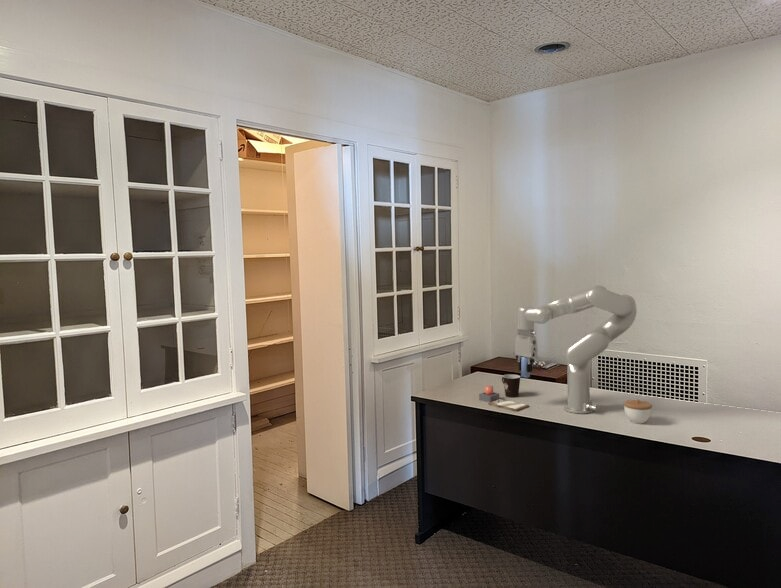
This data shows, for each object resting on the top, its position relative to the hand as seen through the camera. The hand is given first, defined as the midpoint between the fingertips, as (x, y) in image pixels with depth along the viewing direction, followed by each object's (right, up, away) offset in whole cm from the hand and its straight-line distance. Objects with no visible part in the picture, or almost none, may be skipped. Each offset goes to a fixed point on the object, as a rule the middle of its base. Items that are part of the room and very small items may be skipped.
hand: (525, 370), depth 254 cm
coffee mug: (-2, -15, +19) cm, 25 cm away
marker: (0, -3, 0) cm, 3 cm away
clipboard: (-8, -17, +1) cm, 19 cm away
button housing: (-15, -16, +12) cm, 25 cm away
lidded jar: (+41, -18, -27) cm, 52 cm away
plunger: (-15, -15, +12) cm, 24 cm away
